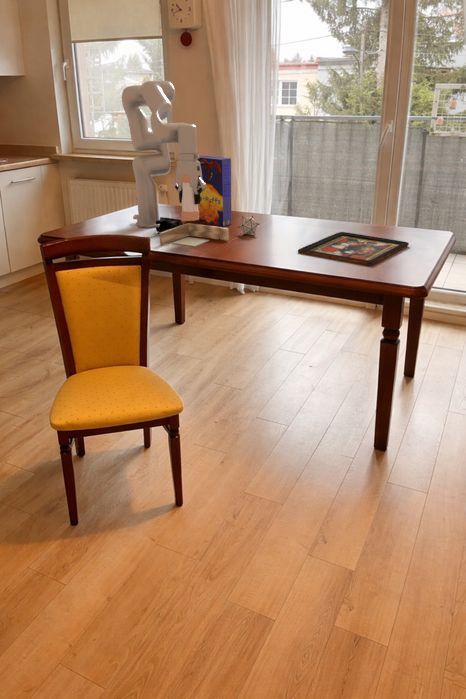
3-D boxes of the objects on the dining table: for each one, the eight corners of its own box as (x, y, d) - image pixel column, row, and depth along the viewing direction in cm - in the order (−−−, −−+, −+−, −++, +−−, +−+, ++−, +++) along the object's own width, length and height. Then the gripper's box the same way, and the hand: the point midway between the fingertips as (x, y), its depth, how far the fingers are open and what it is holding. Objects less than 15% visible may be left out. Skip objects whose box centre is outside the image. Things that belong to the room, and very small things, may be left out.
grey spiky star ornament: (251, 243, 260) (256, 228, 251) (234, 236, 260) (238, 220, 251) (258, 229, 264) (263, 214, 256) (241, 222, 264) (245, 207, 256)
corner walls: (160, 244, 244) (159, 232, 242) (188, 234, 261) (187, 222, 259) (202, 251, 235) (201, 238, 233) (228, 239, 251) (228, 228, 249)
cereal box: (190, 220, 287) (187, 155, 275) (198, 217, 291) (196, 154, 279) (222, 226, 274) (221, 159, 261) (231, 224, 278) (230, 157, 265)
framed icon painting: (330, 235, 259) (331, 228, 257) (410, 246, 242) (411, 239, 241) (293, 257, 229) (293, 250, 228) (381, 271, 213) (382, 263, 212)
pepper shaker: (195, 216, 248) (193, 169, 241) (201, 219, 242) (200, 171, 235) (179, 218, 246) (176, 170, 238) (185, 221, 240) (183, 172, 232)
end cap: (183, 233, 263) (182, 218, 260) (174, 236, 257) (173, 221, 255) (164, 230, 267) (163, 215, 265) (155, 234, 262) (154, 218, 259)
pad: (172, 243, 246) (172, 242, 246) (187, 237, 255) (187, 237, 255) (194, 246, 241) (194, 245, 241) (209, 240, 250) (209, 240, 250)
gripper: (211, 157, 233) (212, 203, 240) (175, 155, 241) (177, 199, 248) (201, 159, 227) (202, 206, 234) (164, 157, 235) (167, 202, 242)
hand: (189, 202), depth 241 cm, fingers closed on pepper shaker, 6 cm apart
